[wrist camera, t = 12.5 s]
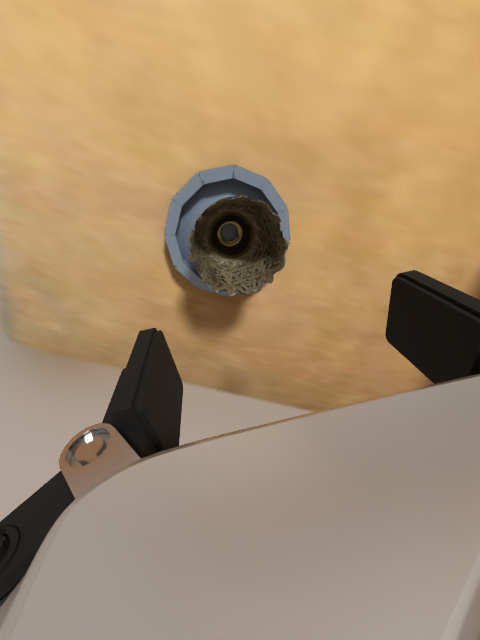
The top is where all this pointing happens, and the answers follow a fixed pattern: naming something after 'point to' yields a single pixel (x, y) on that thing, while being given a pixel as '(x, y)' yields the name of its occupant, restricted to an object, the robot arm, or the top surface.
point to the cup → (238, 245)
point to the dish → (205, 193)
